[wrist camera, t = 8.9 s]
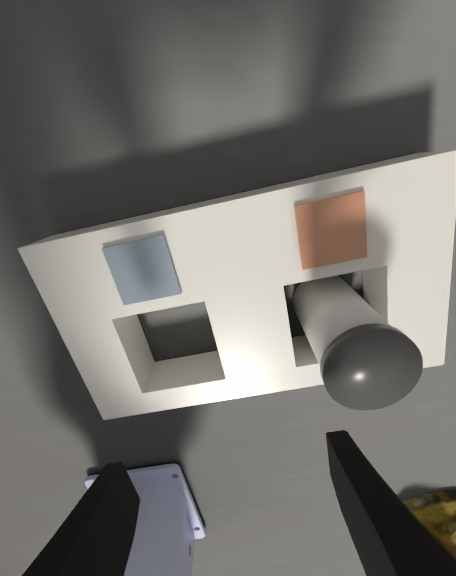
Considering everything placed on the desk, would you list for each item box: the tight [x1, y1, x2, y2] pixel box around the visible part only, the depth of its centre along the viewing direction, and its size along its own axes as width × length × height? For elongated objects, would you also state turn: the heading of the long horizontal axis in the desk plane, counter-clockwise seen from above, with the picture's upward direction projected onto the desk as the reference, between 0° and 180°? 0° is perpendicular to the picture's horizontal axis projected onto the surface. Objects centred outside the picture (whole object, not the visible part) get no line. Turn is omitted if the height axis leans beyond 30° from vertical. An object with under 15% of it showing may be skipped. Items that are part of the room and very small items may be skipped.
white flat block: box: [17, 150, 456, 420], centre depth 16 cm, size 11×20×3 cm, turn 102°
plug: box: [293, 275, 423, 410], centre depth 15 cm, size 4×4×7 cm
